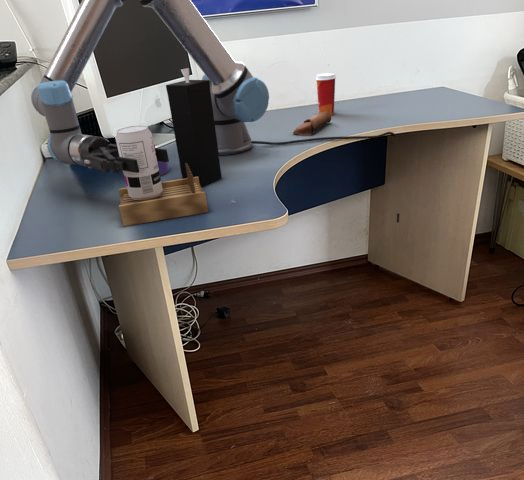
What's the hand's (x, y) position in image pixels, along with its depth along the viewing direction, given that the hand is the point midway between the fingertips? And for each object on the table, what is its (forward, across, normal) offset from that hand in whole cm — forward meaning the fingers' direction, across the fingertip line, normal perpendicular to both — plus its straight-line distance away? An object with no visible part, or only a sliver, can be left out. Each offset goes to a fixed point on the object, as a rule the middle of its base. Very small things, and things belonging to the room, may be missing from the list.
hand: (151, 160), depth 119 cm
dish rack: (-3, -3, -13) cm, 13 cm away
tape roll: (-32, -23, -13) cm, 42 cm away
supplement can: (-5, 0, -9) cm, 10 cm away
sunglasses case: (-15, -85, -13) cm, 88 cm away
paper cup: (-24, -107, -13) cm, 110 cm away
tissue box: (-10, -24, -13) cm, 29 cm away
